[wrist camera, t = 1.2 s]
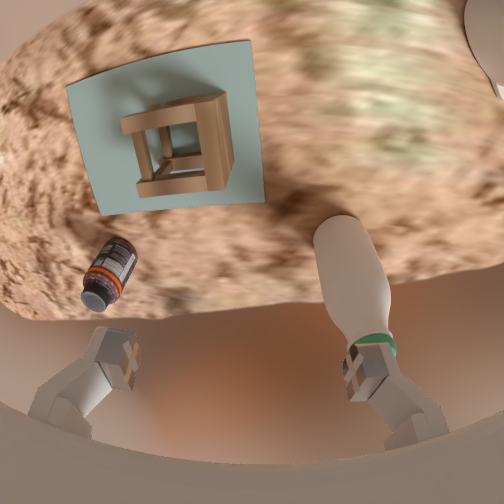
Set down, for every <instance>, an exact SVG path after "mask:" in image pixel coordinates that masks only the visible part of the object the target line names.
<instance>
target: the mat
mask: <svg viewBox="0 0 504 504" xmlns="http://www.w3.org/2000/svg"><path fill="white" fill-rule="evenodd" d="M66 89H67V94H68V100H69V104H70V109H71V114H72V118H73V123H74V127H75V131H76V135H77V139H78V143H79V146H80V150H81V154H82V157H83V161H84V164H85V168H86V171H87V174H88V178H89V181H90V184H91V187H92V190H93V193H94V196H95V199H96V202H97V205H98V208H99V211H100V213H101V216H106V215H115V214H124V213H133V212H143V211H153V210H163V209H174V208H186V207H199V206H212V205H227V204H244V203H263V202H265V193H264V180H263V167H262V155H261V143H260V131H259V120H258V108H257V97H256V87H255V76H254V66H253V56H252V46H251V41H242V42H232V43H224V44H217V45H210V46H204V47H198V48H192V49H187V50H182V51H177V52H172V53H168V54H164V55H159V56H155V57H151V58H148V59H144V60H140V61H137V62H133V63H130V64H127V65H123V66H120V67H117V68H114V69H111V70H108V71H105V72H103V73H100V74H97V75H94V76H92V77H89V78H86V79H84V80H81V81H79V82H77V83H74V84H72V85H69V86H67V87H66ZM222 92H226V93H227V102H228V110H229V119H230V127H231V136H232V144H233V152H234V160H235V161H234V164H233V167H232V170H231V173H230V176H229V179H228V182H227V185H226V188H225V190H219V191H206V192H195V193H184V194H174V195H164V196H155V197H146V198H139V195H138V191H137V188H136V183H137V182H138V181H139V180H140V179H141V178H142V177H141V173H140V169H139V165H138V161H137V157H136V152H135V148H134V144H133V139H132V135H131V133H128V134H124V135H123V131H122V127H121V122H120V119H121V118H123V117H125V116H127V115H131V114H135V113H139V112H143V111H147V110H148V108H147V106H149V105H152V104H155V103H160V102H165V101H170V100H176V99H181V98H187V97H193V96H200V95H207V94H214V93H222ZM169 129H170V134H171V140H172V145H173V150H174V155H176V154H183V153H191V152H199V151H201V147H200V140H199V134H198V128H197V121H194V122H187V123H181V124H175V125H169ZM145 133H146V138H147V143H148V147H149V152H150V156H151V161H152V165H153V170H154V172H155V171H156V170H157V169H158V168H159V163H158V160H159V159H160V158H161V157H162V156H164V155H163V151H162V146H161V141H160V136H159V131H158V128H152V129H147V130H145ZM199 170H204V168H198V169H189V170H180V171H172V172H171V173H170V174H172V173H181V172H190V171H199Z"/></svg>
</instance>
